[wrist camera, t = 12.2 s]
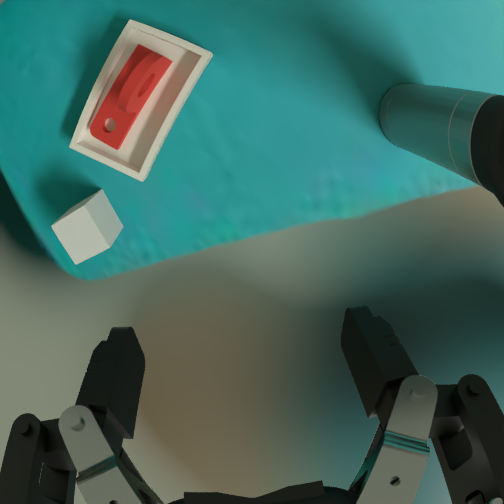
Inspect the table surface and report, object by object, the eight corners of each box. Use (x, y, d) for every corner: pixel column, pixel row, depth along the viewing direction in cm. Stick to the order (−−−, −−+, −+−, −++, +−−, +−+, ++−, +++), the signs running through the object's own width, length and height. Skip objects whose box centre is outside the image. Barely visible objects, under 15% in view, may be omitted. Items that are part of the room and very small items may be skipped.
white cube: (102, 188, 35) (84, 205, 30) (123, 226, 38) (110, 247, 33) (70, 207, 36) (50, 226, 31) (91, 242, 39) (75, 265, 34)
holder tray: (213, 55, 29) (212, 52, 26) (147, 176, 35) (142, 181, 33) (135, 23, 25) (129, 19, 23) (77, 143, 32) (69, 147, 29)
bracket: (141, 45, 26) (119, 33, 19) (172, 61, 28) (158, 52, 21) (90, 131, 31) (60, 143, 24) (119, 148, 32) (94, 163, 25)
